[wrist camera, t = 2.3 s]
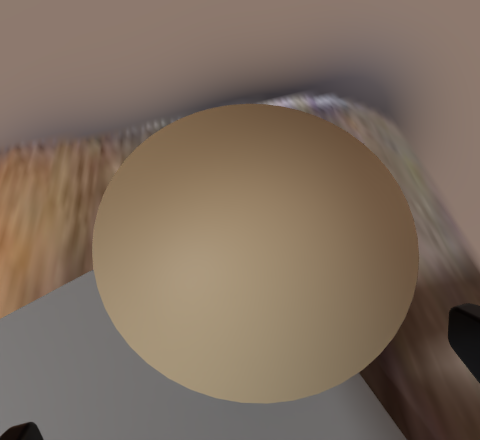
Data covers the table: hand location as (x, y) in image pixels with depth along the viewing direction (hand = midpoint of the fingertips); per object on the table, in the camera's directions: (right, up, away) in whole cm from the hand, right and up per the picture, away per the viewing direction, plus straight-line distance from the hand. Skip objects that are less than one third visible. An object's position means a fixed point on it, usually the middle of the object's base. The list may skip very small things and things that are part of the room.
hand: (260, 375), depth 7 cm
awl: (-1, -3, +8) cm, 9 cm away
